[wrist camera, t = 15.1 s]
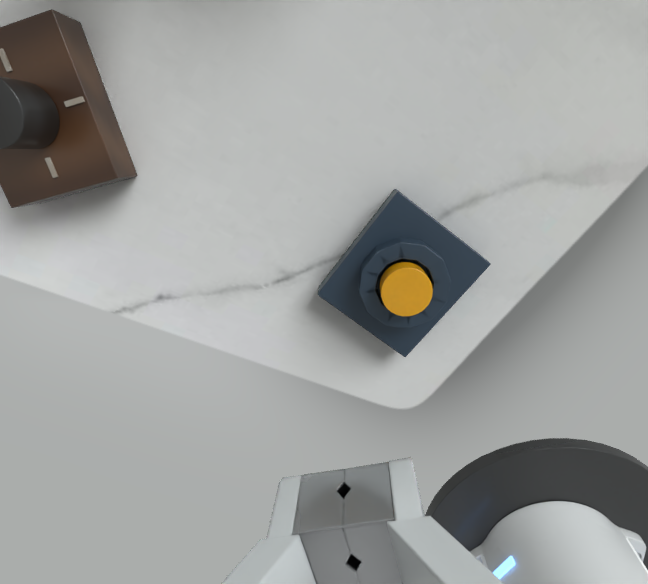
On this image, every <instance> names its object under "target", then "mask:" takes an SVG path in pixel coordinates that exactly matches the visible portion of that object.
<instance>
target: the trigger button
mask: <svg viewBox="0 0 648 584" xmlns="http://www.w3.org/2000/svg"><path fill="white" fill-rule="evenodd" d="M380 293H381V298H382V301H383V303H384V305H385V307H386V308H387V309H388V310H389V311H390V312H392V313H394V314H396V315H399V316H413V315H416V314H418V313H420V312H422V311H423V310H424V309H425V308H426V307H427V306H428V305H429V303H430V301H431V299H432V294H433V288H432V284H431V281H430V279H429V278H428V276H427V274H426V273H425V271H424V270H423V269H422V268H421V267H420V266H418V265H416V264H414V263H410V262H400V263H396V264H394V265H392V266H390V267H389V268H388V269H387V270H386V271H385V272H384V273H383V275H382V277H381V280H380Z"/></svg>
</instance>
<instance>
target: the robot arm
mask: <svg viewBox="0 0 648 584" xmlns="http://www.w3.org/2000/svg"><path fill="white" fill-rule="evenodd" d="M645 552H646V545H645V543H644V541H643V540H642V538H641V537H640V535H638V534H637V533H635V532H632V531H629V530H626V529H623V528H620V527H618V526H616V525H615V524H613V523H612V522H611V521H610V520H609V519H608V518H607V517H605V516H604V515H603V514H602V513H600V512H598V511H597V510H595V509H593V508H591V507H588V506H585V505H582V504H578V503H574V502H566V501H549V502H541V503H536V504H532V505H529V506H526V507H523V508H521V509H518V510H516V511H514V512H512V513H510V514H509V515H507V516H506V517H504V518H503V519H502V520H501V521H499V522H498V523H497V524H496V525H495V526H494V527H493V529H492V530H491V531H490V533H489V534H488V536H487V537H486V539H485V540H484V541H483V543H482V544H481V545H479V546H478V547H476V548H475V549H473V550H472V551H470V552H469V551H468V550H467V549H466V548H465V547H464V546H463V545H462V544H460V543H459V542H458V541H457V540H456V539H455V538H454V537H453V536H452V535H451V534H450V533H448V532H447V531H446V530H445V529H444V528H443V527H442V526H441V525H440V524H439V523H438V522H436V521H435V520H434V519H433V518H432V517H431V516H425V514H424V510H423V505H422V501H421V497H420V492H419V488H418V484H417V479H416V475H415V470H414V466H413V462H412V459H411V458H410V457H408V458H402V459H397V460H392V461H389V462H383V463H378V464H371V465H366V466H359V467H354V468H348V469H340V470H333V471H326V472H318V473H311V474H304V475H299V476H292V477H285V478H282V479H281V481H280V482H279V485H278V490H277V494H276V499H275V503H274V508H273V512H272V517H271V521H270V525H269V530H268V534H267V538H266V539H262V540H259V541H258V543H257V544H256V545H255V546H254V547H253V548H252V550H250V552H249V553H248V554H247V555H246V556H245V557H244V558H243V560H242V561H241V562H240V563H239V564H238V565H237V566H236V567H235V569H234V570H233V571H232V572H231V573H230V574H229V575H228V577H227V578H226V579H225V580H224V581H223V582H222V583H221V584H648V570H647V568H646V567H645V565H644V564H643V560H644V556H645Z"/></svg>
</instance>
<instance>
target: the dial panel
mask: <svg viewBox="0 0 648 584" xmlns="http://www.w3.org/2000/svg"><path fill="white" fill-rule="evenodd" d="M0 76H3V77H7V78H12V79H17V80H21V81H26V82H30V83H33V84H35V85H37V86H39V87H40V88H42V89H43V90H44V91H45V92H46V93H47V94H48V95H49V96H50V97H51V99H52V100H53V102H54V103H55V105H56V108H57V110H58V114H59V122H60V124H59V131H58V134H57V136H56V138H55V139H54V141H53V142H52V143H51V144H49V145H48V146H46V147H44V148H41V149H0V185H1V187H2V189H3V191H4V193H5V195H6V197H7V199H8V202H9V204H10V206H11V208H15V207H21V206H27V205H33V204H38V203H42V202H46V201H50V200H53V199H57V198H60V197H64V196H68V195H71V194H75V193H78V192H82V191H85V190H89V189H93V188H96V187H100V186H103V185H107V184H111V183H114V182H118V181H121V180H125V179H129V178H132V177H136V176H137V173H136V170H135V168H134V165H133V162H132V160H131V157H130V154H129V152H128V149H127V146H126V144H125V141H124V138H123V136H122V133H121V130H120V128H119V125H118V122H117V120H116V117H115V114H114V112H113V109H112V106H111V104H110V101H109V98H108V96H107V93H106V90H105V88H104V85H103V82H102V80H101V77H100V74H99V72H98V69H97V66H96V64H95V61H94V58H93V56H92V53H91V50H90V48H89V45H88V42H87V40H86V37H85V34H84V32H83V29H82V26H81V24H80V22H78V21H76V20H74V19H72V18H69V17H67V16H65V15H63V14H61V13H59V12H57V11H54V10H49V11H46V12H43V13H40V14H37V15H34V16H32V17H29V18H26V19H23V20H20V21H17V22H15V23H12V24H9V25H6V26H3V27H0Z"/></svg>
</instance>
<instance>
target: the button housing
mask: <svg viewBox="0 0 648 584" xmlns="http://www.w3.org/2000/svg"><path fill="white" fill-rule="evenodd" d="M400 262H410V263H414V264H416V265H418V266H420V267H421V268H422V269H423V270H424V271H425V273H426V274H427V276H428V278H429V279H430V281H431V284H432V288H433V294H432V299H431V301H430V303H429V305H428V306H427V307H426V308H425V309H424V310H423V311H422V312H420V313H418V314H416V315H413V316H399V315H396V314H394V313H392V312H390V311H389V310H388V309H387V308H386V307H385V305H384V303H383V301H382V298H381V293H380V280H381V277H382V275H383V273H384V272H385V271H386V270H387V269H388V268H389V267H390V266H392V265H394V264H396V263H400ZM489 265H490V263H489V262H488V261H487V260H486V259H484V258H483V257H482V256H481V255H479V254H478V253H477V252H476V251H474V250H473V249H472V248H471V247H469V246H468V245H467V244H465V243H464V242H463V241H462V240H460V239H459V238H458V237H457V236H455V235H454V234H453V233H451V232H450V231H449V230H448V229H446V228H445V227H444V226H443V225H441V224H440V223H439V222H437V221H436V220H435V219H434V218H432V217H431V216H430V215H428V214H427V213H426V212H425V211H423V210H422V209H421V208H420V207H418V206H417V205H416V204H414V203H413V202H412V201H411V200H409V199H408V198H407V197H406V196H404V195H403V194H402V193H400V192H399V191H398V190H397V189H394V191H393V192H392V193H391V195H390V196H389V197H388V198H387V200H386V201H385V202H384V204H383V205H382V206H381V207H380V209H379V210H378V211H377V213H376V214H375V215H374V216H373V218H372V219H371V220H370V222H369V223H368V224H367V225H366V227H365V228H364V229H363V231H362V232H361V233H360V234H359V236H358V237H357V238H356V240H355V241H354V242H353V243H352V245H351V246H350V247H349V249H348V250H347V251H346V252H345V254H344V255H343V256H342V258H341V259H340V260H339V261H338V263H337V264H336V265H335V267H334V268H333V269H332V270H331V272H330V273H329V274H328V276H327V277H326V278H325V279H324V281H323V282H322V283H321V285H320V286H319V290H318V295H319V296H320V297H321V298H323V299H324V300H326V301H327V302H328V303H330V304H331V305H333V306H334V307H335V308H337V309H338V310H340V311H341V312H342V313H344V314H345V315H347V316H348V317H349V318H351V319H352V320H354V321H355V322H356V323H358V324H359V325H361V326H362V327H363V328H365V329H366V330H368V331H369V332H370V333H372V334H373V335H375V336H376V337H377V338H379V339H380V340H382V341H383V342H384V343H386V344H387V345H388V346H390V347H391V348H393V349H394V350H395V351H397V352H398V353H400V354H401V355H402V356H404V357H406V356H407V355H408V354H409V353H410V352H411V350H412V349H413V348H414V347H415V346H416V345H417V344H418V343H419V342H420V341H421V340H422V338H423V337H424V336H425V335H426V334H427V333H428V332H429V331H430V330H431V329H432V328H433V326H434V325H435V324H436V323H437V322H438V321H439V320H440V319H441V318H442V317H443V316H444V315H445V313H446V312H447V311H448V310H449V309H450V308H451V307H452V306H453V305H454V304H455V303H456V301H457V300H458V299H459V298H460V297H461V296H462V295H463V294H464V293H465V292H466V291H467V289H468V288H469V287H470V286H471V285H472V284H473V283H474V282H475V281H476V280H477V279H478V277H479V276H480V275H481V274H482V273H483V272H484V271H485V270H486V269H487V268H488V267H489Z"/></svg>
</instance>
